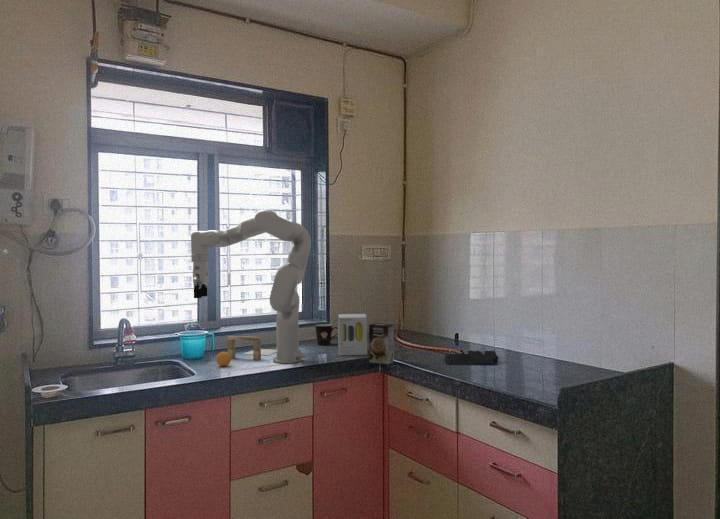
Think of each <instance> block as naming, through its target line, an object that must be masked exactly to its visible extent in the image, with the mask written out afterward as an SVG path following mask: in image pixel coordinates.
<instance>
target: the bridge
mask: <svg viewBox="0 0 720 519" xmlns="http://www.w3.org/2000/svg"><path fill="white" fill-rule="evenodd" d="M261 338H262V337H261V336H247V335H246V336H244V335H242V336H241V335H228V336H227V338H226V340H227V343H226V345H227V352H228V353H229V354H230V356H231V360H232V359H235V358H236V341H250V342H251V341H252V345H253V346H252V350H253V355H252V358H253V361H259V360H261V359H262V355H261V349H262V348H261V347H262V344H261V342H262V339H261Z"/></svg>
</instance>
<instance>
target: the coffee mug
mask: <svg viewBox="0 0 720 519" xmlns="http://www.w3.org/2000/svg"><path fill="white" fill-rule="evenodd" d="M314 326H315V333H316V335H315V336H316V341H317V346H319V347H320V346H321V347H323V346H324V347H325V346H326V347H327V345H328V346H330V345H331V341H332V340H333V338H335V337H338V332H337V333H336V334H335V335H333V336H332V332H333V330H334V329H337V330H338V326H333V324H330V323H320V324H315V325H314Z"/></svg>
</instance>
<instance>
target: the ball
mask: <svg viewBox="0 0 720 519" xmlns="http://www.w3.org/2000/svg"><path fill="white" fill-rule="evenodd" d="M215 359H216V360H215V361H216V363H217V365H219V366H220V367H225V366H226V367H227V366H229V365H230V364H231V360H232V359H231V356H230V354H229V353H228V351H221V352H219V353H218V354H217V355H216V357H215Z"/></svg>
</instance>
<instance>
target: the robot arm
mask: <svg viewBox="0 0 720 519" xmlns="http://www.w3.org/2000/svg"><path fill="white" fill-rule="evenodd" d="M266 233H267V234H268V235H271V236H272V237H275V238H277V239H279V240H281V241H284V242H289V243H291V248H289V252H288V256H287V258H286V259H287V260H286V263H285V264H283V265H281V266H280V267H279V268H278V269H277V271H276V273H275V276H274V280H273V283H272V287H271V291H270V296H269V305H270V307H271V308H272V310H273V311H275V312H276V319H275V322H276V323H275V324H276V325H275V326H276V327H275V328H276V331H275V332H276V333H275V334H276V336H275V337H276V338H275V339H276V350H277V352H276V356H274V357H273V358H272V360H273V363H277V364H293V363H294V364H295V363H300V362H301V361H303V359H307V357H308V353H307V352H302V349H300V347H299V346H300V342H299V341H300V339H299V336H300V335H299V333H300V332H299V313H300V296H299V295H300V294H299V293H298V291H297V290H296V286H298V285H299V284H301V283H302V282H303V280H304V277H305V272H306V269H307V264H308V259H309V257H310V256H309V255H310V252H311V249H312V238H311V235H310V232H309V231H308V230H307V229H306V228H305V227H304V226H303V225H302V224H300V223H298V222H294V221H289V220H287V219H286V218H283V217H280V216H279V215H278V214H277V213H276V212H275V211H273V210H268V209H261V210H258V211H257V212H256V213H255V214H254V215H252V216H250V217H246V218H243V219H241V220H240V221H239V223H238V224H236V225H235V226H232V227H230V228H227V229H224V230H219V229H218V230H217V229H211V230H194V231H191V233H190V251H191V253H190V254H191V255H190V256H191V257H190V258H191V260H190V261H191V263H192V283H193V299H202V298H203V297H208V284H209V283H210V269H209V262H210V248H226V247H229V246H232V245H234V244H235V245H236V244H238V243H241V242H243V241H246V240H247V239H250V238H253V237H256V236H259V235H262V234H266Z"/></svg>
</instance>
